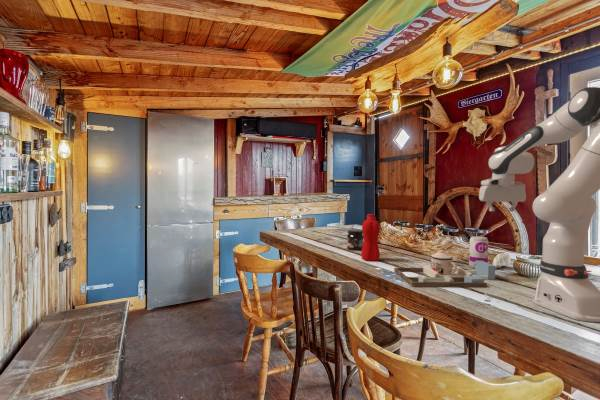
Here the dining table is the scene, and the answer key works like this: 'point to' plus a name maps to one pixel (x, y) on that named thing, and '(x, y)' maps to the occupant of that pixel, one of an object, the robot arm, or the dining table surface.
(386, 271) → the dining table surface
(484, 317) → the dining table surface
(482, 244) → the supplement can
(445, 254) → the teacup with lid
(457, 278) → the lane rails
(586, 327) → the dining table surface
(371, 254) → the water bottle
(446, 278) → the broken carriage
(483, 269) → the carriage
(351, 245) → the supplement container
